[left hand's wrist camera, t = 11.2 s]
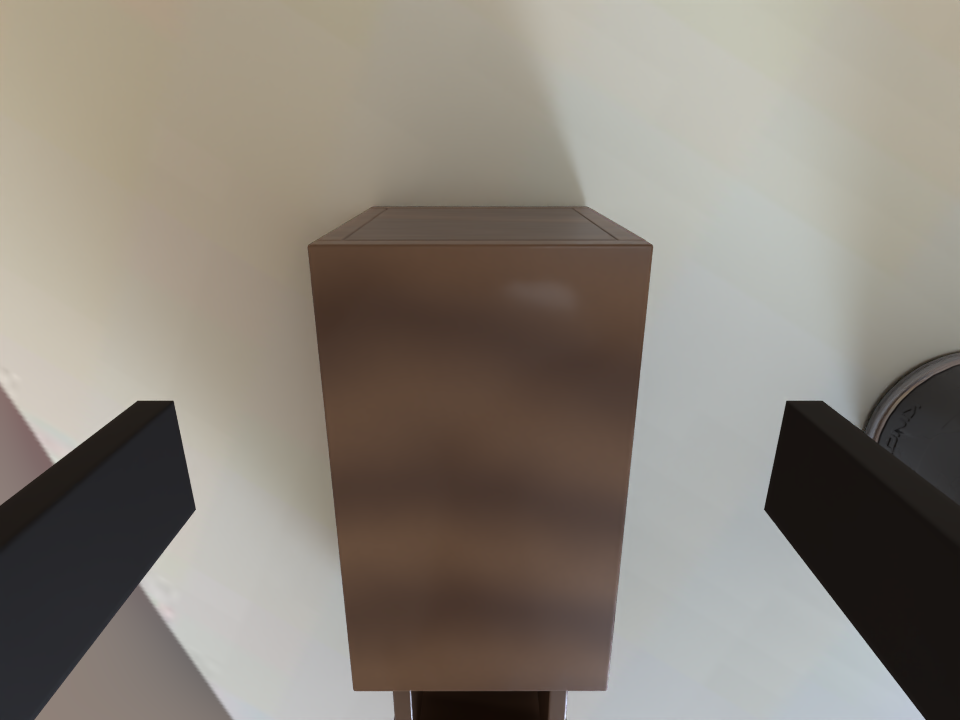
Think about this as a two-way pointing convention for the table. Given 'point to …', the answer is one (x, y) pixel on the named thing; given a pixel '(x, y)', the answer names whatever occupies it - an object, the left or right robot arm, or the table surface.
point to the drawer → (480, 705)
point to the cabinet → (480, 439)
